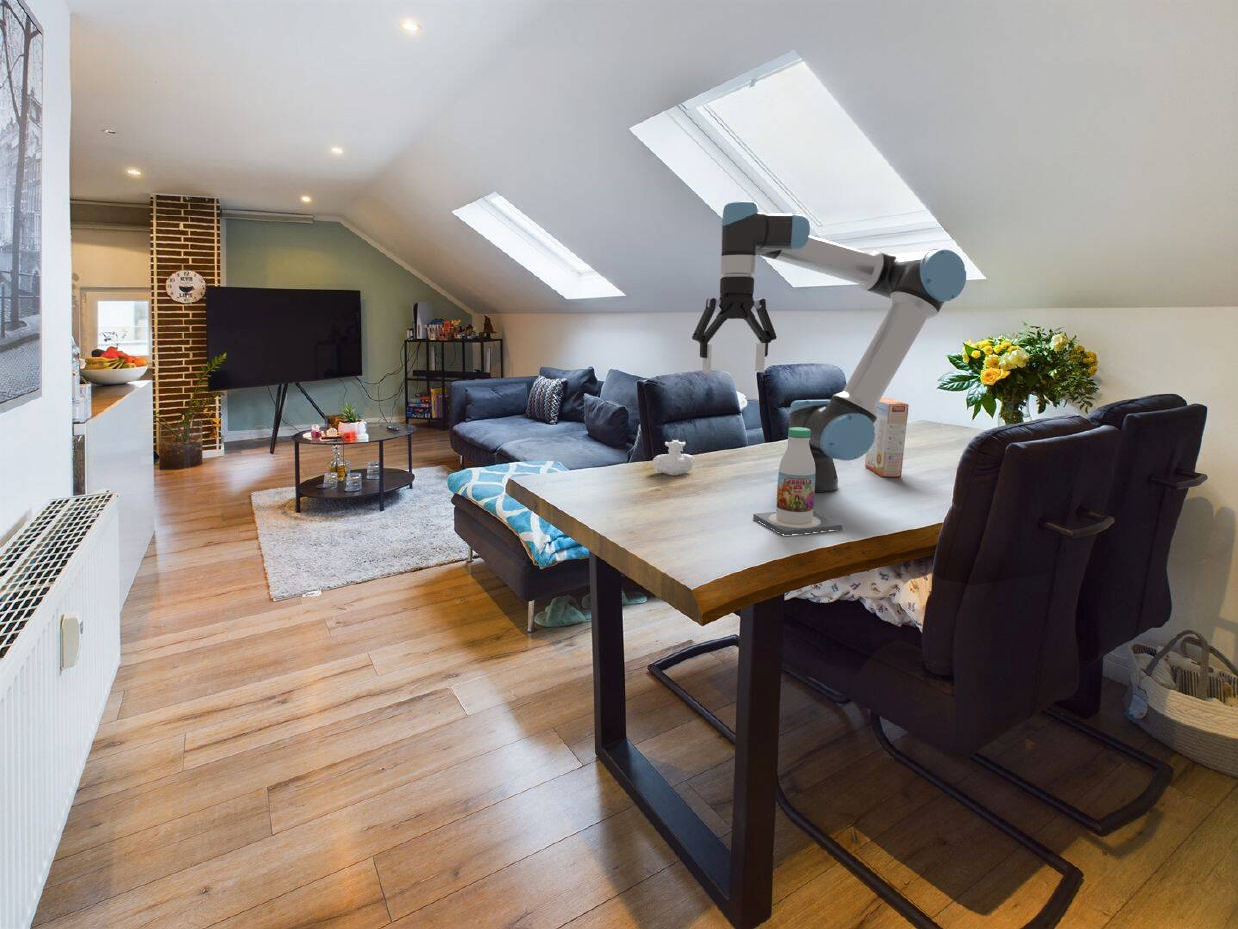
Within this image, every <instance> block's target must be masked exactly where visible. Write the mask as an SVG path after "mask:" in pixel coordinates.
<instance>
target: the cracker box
mask: <svg viewBox="0 0 1238 929" xmlns="http://www.w3.org/2000/svg"><path fill="white" fill-rule="evenodd" d="M909 408H910V405H909V403H905V402H903V401H899V400H896V399H892V398H889V397H881V399H880V401H879V403H878V404H877V406H876V408H875V410H876V413H877V416H878V417H877V419H876V421H875V423H874V424H873V425H874V427H875V430H874V433H875V439H874V442H873V444H872V446H871V448H870V449H869V450H868V452H867V453H865V460H864V463H865V464H864V466H865V467H866V468H867V469H869V470H871V471H872V472H874V473H875V474H876V475H878V476H880V477H883V478H901V477H902V472H903V471H902V470H903V462H904V461H903V460H904V454H905V445H906V444H905V442H906V436H907V435H906V434H907V426H908V415H909Z"/></svg>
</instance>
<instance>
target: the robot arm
mask: <svg viewBox="0 0 1238 929" xmlns="http://www.w3.org/2000/svg"><path fill="white" fill-rule="evenodd" d="M758 207H759V206H758V204H757V203H756V202H753V201H746V200H745V201H744V200H743V201H733V202H729V203H727V204H725V205H724V206H723V211H722V219H721V252H720V255H721V256H720V275H722V277H720V280H719V295H720V296H719V299H717V298H715V297H708V298H707V299H706V302H705V309H704V310H703V313H702V315H701V317H700V320H699V321H698V323H697V326H696V328H695V330H694V332H693V334H692V336H691V339H692V340H693V341H696V342H698V343H699V357H700V358H702V373H705V374H711V373H712V353H713V352H712V348H713V345H712V344H713V343H709V342H710V341H711V340H712V339H713V338H714V336H715V335H716V333H717V332H718V331H719V330H720V328H721V327H722V326H723V324H724V323H725V322H726V321H727V320H735V319H736V320H741V319H742V320H744V321H745V322H746V323H747V325H748V326H749V328H750V329H751V330H752V331H753V333H754V334H755V336H756V338H757V339H758V340H759V342H756V344H755V345H756V348H755V349H756V350H755V366H754V367H755V370H754V371H756V372H761V373H762V372H765V357H768V355H769V343H771V342H772V341H775V340H777V334H776V331H775V329H774V326H773V324H772V321H771V318H770V315H769V313H768V310H767V300H766V299H765V298H757V299H754V297H753V296H754V292H755V290H754V289H755V278H754V277H753V275H755V273H756V272H755V271H756V256H761V257H764V258H768V259H772V260H776V261H779V262H783V263H786V264H790V265H792V266H797V267H800V268H803V269H807V270H811V271H813V272H817V273H821V274H824V275H827V276H831V277H834V278H838V279H840V280H844V281H848V282H851V283H855V284H857V285H859V287H860V289H861V290H863V291H867V292H871V293H874V294H876V295H879V296H882V297H885V298H887V299H890V301H891V303H892V304H891V306H890V308H889V310H888V311H887V313H886V315H885V316H884V318H883V320H882V322H881V324H880V325H879V327H878V329H877V331H876V333H875V334H874V335H873V338H872V340H871V341H870V343H869V345H868V346H867V348H866V350H865V351H864V353H863V355H862V357H861V359H860V360H859V362H858V364H857V365H856V367H855V369H854V371H853V373H852V374H851V376H850V378H849V379H848V382H847V383H846V385H845V387H844V389H843V390H842V391H841V392H838V393H835V394H833V395H832V397H831V398H830V399H806V400H803V399H802V400H794V401H792V402H791V404H790V408H789V413H788V416H789V417H788V418H789V419H788V429H789V428H794V427H801V428H808V429H810V430H811V436H810V440H809V447H810V451H811V454H812V456H813V459H814V462H815V492H814V493H826V492H831V491H835V490H837V489H838V488H839V487H838V485H839V477H838V474H837V470H836V466H835V462H834V460H839V461H849V462H850V461H854V460H857V459H860V458H861V457H863V456H864V455H866V453H867V452H868V450H869V449H870V448H871V446H872V444H873V442H874V439H875V433H874V430H875V427H874V425H873V424H874V423H875V421H876V419H877V417H878V416H877V413H876V410H875V408H876V406H877V404H878V403H879V401H880V399H881V398H883V395H884V394H885V392H886V390H887V389H888V387H889V385H890V384H891V382H892V379H893V378H894V377H895V375H896V373H897V371H898V369H899V368H900V366H901V365H902V363H903V361H904V359H905V357H906V356H907V354H908V352H909V350H910V349H911V347H912V345H914V342H915V340H916V339H917V337H918V336H919V333H920V331H921V330H922V328H923V327H924V324H925V323H926V321H927V320H928V319H932V318H935V317H937V315H938V314H939V312H940V311H941V309H942V307H943V305H944V304H945V303H946V302H950V301H952V300H954V299H955V298H957V297H959V295H961V293H962V292H963V290H964V288H965V285H966V281H967V270H966V268H965V267H966V266H965V265H966V264H965V263H964V261H963V259H962V258H961V256H960V255H959V254H957V253H956V252H954V251H953V250H949V249H945V248H944V249H940V248H933V249H930V250H927V251H919V252H909V253H898V254H897V253H896V254H894V253H892V254H890V253H884V252H881V251H873V252H871V253H869V252H865V251H862V250H859V249H856V248H853V247H849V246H845V245H842V244H838V243H836V242H833V241H829V240H826V239H823V238H820V237H815V236H812V235H810V234H811V232H810V231H811V227H810V226H811V224H810V221H809V219H808V217H807V216H806V215H803V214H795V213H763V212H759V208H758ZM718 307H719V309H720V311H719V312H718V313H717V315H716V317H715V318H714V320H713V321H712V322H711V320H712V317H713V316H714V313H715V311H716V309H717V308H718ZM753 308H754V309H755V310H756V313H757V316H758V318H759V321H760V323H759V321H758V320H757V318H756V315H755V314H754V313H753V311H752V309H753ZM710 322H711V324H710ZM709 324H710V325H709ZM708 325H709V326H708ZM788 443H789V439H788V438H787V444H788Z"/></svg>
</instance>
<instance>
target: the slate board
mask: <svg viewBox="0 0 1238 929" xmlns="http://www.w3.org/2000/svg"><path fill="white" fill-rule="evenodd" d="M752 519H753V520H754V519H755V521H756V522H758V521H760V522H761V523H763V524H765V525H766V526H765V525H764V526H765V527H767V526H768V527H769V529H770V528H772V529H774V530H775V531H774V530H773V531H774V532H776V531H777V532H779V533H780V534H779V533H778V534H779V535H781V534H784V535H792V534H805V533H813V532H821V531H829V530H839V531H843V525H844V524H842V523H840V522H838V521H835V520H834V519H832V518H829V517H827V516H824V515H822V514H820V513H819V512H816V511H814V510H813V518H812V521H811V522H809V523H806V524H790V523H785V522H782V521H779V520H778V519H777V517H776V511H768V512H759V513H753V517H752ZM760 522H759V523H760ZM761 523H760V524H761ZM763 524H762V525H763ZM768 527H767V528H768ZM772 529H771V530H772ZM777 532H776V533H777ZM813 534H814V533H813ZM805 535H806V534H805Z"/></svg>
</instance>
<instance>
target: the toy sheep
mask: <svg viewBox="0 0 1238 929" xmlns="http://www.w3.org/2000/svg"><path fill="white" fill-rule="evenodd" d="M664 445H665V446H666V447H668V451H667V452H668V453H667V454H666V453H665V454H663V453H662V454H658V455H656V456H655V457H653V459H652V464H653V468H654V469H655V472H657V473H662V474H666V475H668V476H674V475H675V476H680V475H682V474H685V473H688V472H690V471H691V470H692V468H693V465H694V463H695V461H696V460H695V457H694V456H693V455H690V454H687V453H681V452H683V448H684V446H686V441H682V442H681V441H679V439H675V440H674V439H672V440H671V441H669V442H668V441H665V442H664Z"/></svg>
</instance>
